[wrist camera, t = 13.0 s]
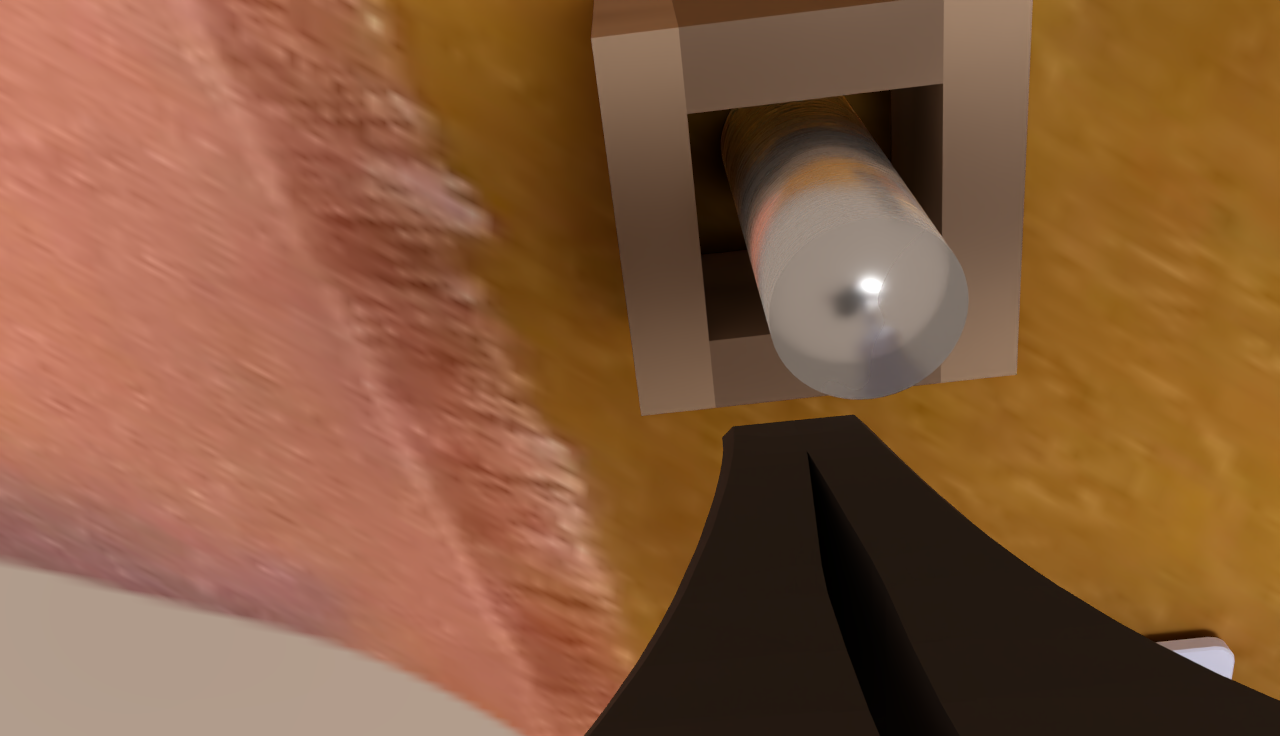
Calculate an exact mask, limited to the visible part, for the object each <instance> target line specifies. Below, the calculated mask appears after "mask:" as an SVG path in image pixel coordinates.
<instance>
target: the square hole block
mask: <svg viewBox="0 0 1280 736" xmlns="http://www.w3.org/2000/svg"><path fill="white" fill-rule="evenodd" d="M1032 4H1033V0H594V9H593V21H592V32H591V42H592V49H593V57H594V64H595V72H596V79H597V87H598V94H599V102H600V109H601V117H602V124H603V132H604V139H605V147H606V154H607V162H608V169H609V177H610V184H611V192H612V199H613V207H614V214H615V222H616V229H617V237H618V244H619V252H620V259H621V267H622V274H623V282H624V289H625V297H626V304H627V312H628V319H629V327H630V334H631V342H632V349H633V357H634V364H635V372H636V379H637V387H638V394H639V402H640V409H641V416H645V415H654V414H663V413H672V412H681V411H690V410H699V409H708V408H717V407H726V406H736V405H745V404H754V403H763V402H772V401H781V400H790V399H799V398H808V397H817V396H826V395H827V394H824V393H821V392H819V391H817V390H815V389H813V388H811V387H809V386H808V385H806V384H804V383H803V382H801V381H800V380H799V379H798V378H797V377H795V376H794V375H793V374H792V373H791V372H790V371H789V370H788V368H787V367H786V366H785V365H784V363H783V362H782V360H781V359H780V357H779V355H778V353H777V351H776V349H775V347H774V344H773V341H772V338H771V334H770V330H769V327H768V323H767V320H766V316H765V312H764V309H763V305H762V301H761V298H760V294H759V291H758V287H757V283H756V280H755V276H754V272H753V269H752V265H751V262H750V258H749V254H748V251H747V250H741V251H733V252H724V253H715V254H706V255H701V252H700V242H699V232H698V222H697V211H696V201H695V191H694V181H693V170H692V160H691V150H690V140H689V130H688V119H687V114H691V113H700V112H708V111H716V110H725V109H733V108H741V107H750V106H758V105H766V104H775V103H783V102H792V101H800V100H808V99H817V98H825V97H833V96H842V95H850V94H858V93H867V92H875V91H883V90H891V149H892V165H893V167H894V168H895V170H896V171H897V173H898V174H899V176H900V177H901V178H902V180H903V181H904V183H905V184H906V186H907V187H908V188H909V190H910V191H911V193H912V194H913V196H914V197H915V198H916V200H917V201H918V203H919V204H920V206H921V207H922V209H923V210H924V211H925V213H926V214H927V216H928V217H929V219H930V220H931V221H932V223H933V224H934V226H935V227H936V229H937V230H938V232H939V233H940V234H941V236H942V237H943V239H944V240H945V242H946V243H947V244H948V246H949V247H950V249H951V250H952V252H953V253H954V255H955V256H956V258H957V259H958V261H959V263H960V265H961V267H962V269H963V272H964V275H965V277H966V282H967V286H968V297H969V303H968V313H967V318H966V322H965V325H964V328H963V331H962V334H961V336H960V338H959V340H958V342H957V344H956V345H955V347H954V349H953V350H952V351H951V353H950V354H949V356H948V357H947V358H946V359H945V360H944V361H943V363H942V364H941V365H940V366H939V367H938V368H937V369H936V370H934V371H933V372H932V373H931V374H930V375H928V376H927V377H926V378H924V379H923V380H921V381H920V382H918V383H916V384H915V385H913V386H917V385H926V384H935V383H944V382H953V381H962V380H971V379H980V378H989V377H998V376H1008V375H1017V353H1018V330H1019V307H1020V284H1021V260H1022V237H1023V214H1024V191H1025V167H1026V144H1027V121H1028V97H1029V74H1030V51H1031V28H1032Z"/></svg>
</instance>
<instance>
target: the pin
mask: <svg viewBox="0 0 1280 736" xmlns="http://www.w3.org/2000/svg"><path fill="white" fill-rule="evenodd" d="M721 154H722V160H723V164H724V167H725V171H726V175H727V178H728V182H729V185H730V189H731V193H732V196H733V200H734V204H735V207H736V211H737V214H738V218H739V222H740V225H741V229H742V233H743V236H744V240H745V243H746V247H747V251H748V254H749V258H750V262H751V265H752V269H753V272H754V276H755V280H756V283H757V287H758V291H759V294H760V298H761V301H762V305H763V309H764V312H765V316H766V320H767V323H768V327H769V330H770V334H771V338H772V341H773V344H774V347H775V349H776V351H777V353H778V355H779V357H780V359H781V360H782V362H783V363H784V365H785V366H786V367H787V368H788V370H789V371H790V372H791V373H792V374H793V375H794V376H795V377H797V378H798V379H799V380H800V381H801V382H803V383H804V384H806V385H808V386H809V387H811V388H813V389H815V390H817V391H819V392H821V393H824V394H827V395H831V396H834V397H839V398H845V399H873V398H878V397H884V396H888V395H891V394H894V393H897V392H900V391H902V390H905V389H907V388H909V387H911V386H913V385H915V384H916V383H918V382H920V381H921V380H923V379H924V378H926V377H927V376H928V375H930V374H931V373H932V372H933V371H934V370H936V369H937V368H938V367H939V366H940V365H941V364H942V363H943V361H944V360H945V359H946V358H947V357H948V356H949V354H950V353H951V351H952V350H953V349H954V347H955V345H956V344H957V342H958V340H959V338H960V336H961V334H962V331H963V328H964V325H965V322H966V318H967V313H968V303H969V297H968V286H967V282H966V277H965V275H964V272H963V269H962V267H961V265H960V263H959V261H958V259H957V258H956V256H955V255H954V253H953V252H952V250H951V249H950V247H949V246H948V244H947V243H946V242H945V240H944V239H943V237H942V236H941V234H940V233H939V232H938V230H937V229H936V227H935V226H934V224H933V223H932V221H931V220H930V219H929V217H928V216H927V214H926V213H925V211H924V210H923V209H922V207H921V206H920V204H919V203H918V201H917V200H916V198H915V197H914V196H913V194H912V193H911V191H910V190H909V188H908V187H907V186H906V184H905V183H904V181H903V180H902V178H901V177H900V176H899V174H898V173H897V171H896V170H895V168H894V167H893V165H892V164H891V163H890V161H889V160H888V158H887V157H886V155H885V154H884V153H883V151H882V150H881V148H880V147H879V145H878V144H877V142H876V141H875V140H874V138H873V137H872V135H871V134H870V132H869V131H868V130H867V128H866V127H865V125H864V124H863V122H862V121H861V120H860V118H859V117H858V115H857V114H856V112H855V111H854V109H853V108H852V107H851V105H850V104H849V102H848V101H847V100H846V98H845V97H844V96H843V95H842V96H833V97H825V98H817V99H808V100H800V101H792V102H783V103H775V104H766V105H758V106H750V107H741V108H733V109H731V111H730V112H729V114H728V116H727V119H726V121H725V124H724V127H723V131H722V137H721Z"/></svg>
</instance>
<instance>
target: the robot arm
mask: <svg viewBox="0 0 1280 736" xmlns="http://www.w3.org/2000/svg"><path fill="white" fill-rule="evenodd" d="M722 439H723V460H722V466H721V471H720V476H719V480H718V484H717V488H716V492H715V496H714V500H713V503H712V506H711V509H710V511H709V514H708V517H707V520H706V523H705V526H704V529H703V532H702V535H701V538H700V540H699V543H698V546H697V548H696V550H695V553H694V555H693V557H692V559H691V562H690V564H689V566H688V568H687V570H686V573H685V575H684V577H683V579H682V581H681V584H680V586H679V588H678V590H677V592H676V595H675V597H674V599H673V601H672V603H671V605H670V607H669V608H668V610H667V612H666V614H665V616H664V618H663V620H662V622H661V623H660V625H659V627H658V629H657V630H656V632H655V634H654V636H653V637H652V639H651V641H650V642H649V644H648V646H647V647H646V649H645V650H644V652H643V654H642V655H641V657H640V659H639V660H638V662H637V663H636V665H635V667H634V668H633V669H632V671H631V672H630V674H629V675H628V677H627V678H626V680H625V681H624V682H623V684H622V685H621V687H620V688H619V690H618V691H617V692H616V694H615V695H614V697H613V698H612V700H611V701H610V703H609V704H608V705H607V707H606V708H605V709H604V711H603V712H602V713H601V715H600V716H599V717H598V719H597V720H596V721H595V723H594V724H593V725H592V726H591V728H590V729H589V730H588V731H587V733H586V734H585V735H584V736H1280V701H1279V700H1277V699H1274V698H1272V697H1269V696H1267V695H1265V694H1263V693H1260V692H1258V691H1256V690H1254V689H1251V688H1249V687H1247V686H1245V685H1242V684H1240V683H1238V682H1236V681H1233V680H1232V674H1233V668H1234V662H1235V661H1234V654H1233V653H1232V652H1231V650H1230V649H1229V647H1228V646H1227V645H1226V643H1225V642H1224V641H1223V640H1221V639H1219V638H1217V637H1203V638H1193V639H1183V640H1173V641H1163V642H1154V641H1152V640H1150V639H1148V638H1146V637H1144V636H1142V635H1141V634H1139V633H1137V632H1135V631H1133V630H1131V629H1130V628H1128V627H1126V626H1124V625H1122V624H1121V623H1119V622H1117V621H1115V620H1113V619H1112V618H1110V617H1109V616H1107V615H1105V614H1104V613H1102V612H1100V611H1099V610H1097V609H1095V608H1094V607H1092V606H1091V605H1089V604H1087V603H1086V602H1084V601H1082V600H1081V599H1079V598H1077V597H1076V596H1074V595H1073V594H1071V593H1069V592H1068V591H1066V590H1064V589H1063V588H1061V587H1059V586H1058V585H1056V584H1055V583H1053V582H1052V581H1050V580H1049V579H1047V578H1046V577H1044V576H1043V575H1041V574H1040V573H1038V572H1037V571H1035V570H1034V569H1033V568H1031V567H1030V566H1028V565H1027V564H1026V563H1024V562H1023V561H1021V560H1020V559H1019V558H1017V557H1016V556H1015V555H1013V554H1012V553H1011V552H1009V551H1008V550H1007V549H1005V548H1004V547H1002V546H1001V545H1000V544H998V543H997V542H996V541H994V540H993V539H992V538H990V537H989V536H988V535H987V534H985V533H984V532H983V531H982V530H980V529H979V528H978V527H977V526H975V525H974V524H973V523H972V522H971V521H969V520H968V519H967V518H966V517H965V516H964V515H962V514H961V513H960V512H959V511H958V510H957V509H955V508H954V507H953V506H952V505H951V504H950V503H948V502H947V501H946V500H945V499H944V498H943V497H941V496H940V495H939V494H938V493H937V492H936V491H935V490H933V489H932V488H931V487H930V486H929V485H928V484H927V483H926V482H925V481H923V480H922V479H921V478H920V477H919V476H918V475H917V474H916V473H915V472H914V471H913V470H912V469H911V468H910V467H908V466H907V465H906V464H905V463H904V462H903V461H902V460H901V459H900V458H899V457H898V456H897V455H896V454H895V453H894V452H893V451H892V450H891V449H890V448H889V447H888V446H887V445H886V444H885V443H884V442H883V441H882V440H881V439H880V438H879V437H878V436H877V435H876V434H875V433H874V432H873V431H871V430H870V429H869V428H868V427H867V426H866V425H865V424H864V423H863V422H862V421H861V420H860V419H858V418H857V417H856V416H855V415H846V416H836V417H825V418H815V419H805V420H795V421H785V422H774V423H764V424H754V425H744V426H733V427H732V428H731V429H730V430H729V431H728V432H727V433H726V434H725V435H724V436H723V437H722Z"/></svg>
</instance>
